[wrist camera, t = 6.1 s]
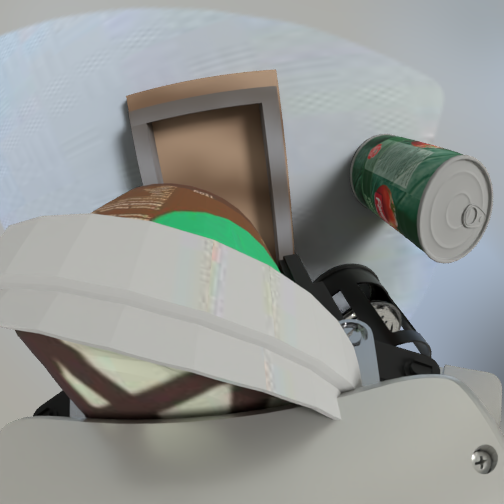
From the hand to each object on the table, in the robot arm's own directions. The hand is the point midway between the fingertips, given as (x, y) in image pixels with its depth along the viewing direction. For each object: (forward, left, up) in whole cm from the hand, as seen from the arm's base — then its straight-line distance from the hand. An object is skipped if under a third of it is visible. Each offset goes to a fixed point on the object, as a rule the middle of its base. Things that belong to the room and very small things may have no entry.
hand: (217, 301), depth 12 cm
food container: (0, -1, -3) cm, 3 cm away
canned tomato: (0, -16, -15) cm, 22 cm away
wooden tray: (0, 0, -15) cm, 15 cm away
